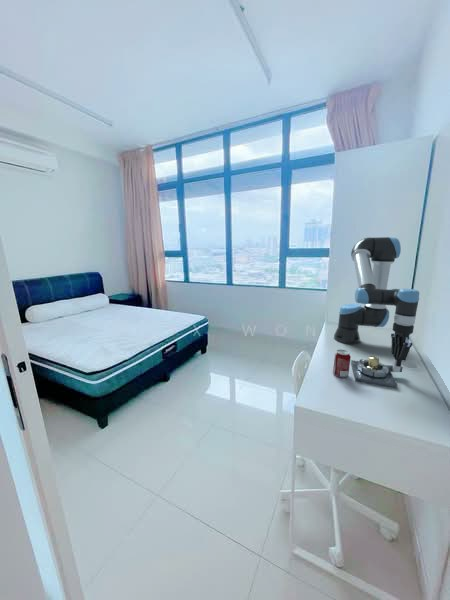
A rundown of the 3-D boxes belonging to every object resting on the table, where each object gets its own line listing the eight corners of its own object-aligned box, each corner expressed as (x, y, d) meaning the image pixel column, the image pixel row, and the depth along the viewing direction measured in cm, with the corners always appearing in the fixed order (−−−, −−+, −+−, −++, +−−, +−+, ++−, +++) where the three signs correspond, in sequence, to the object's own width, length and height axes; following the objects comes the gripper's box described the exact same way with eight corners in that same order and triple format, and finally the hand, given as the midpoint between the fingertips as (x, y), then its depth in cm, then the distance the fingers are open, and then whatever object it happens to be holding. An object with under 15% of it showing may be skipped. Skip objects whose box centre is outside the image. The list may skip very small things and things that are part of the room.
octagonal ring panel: (365, 376, 112) (366, 369, 111) (353, 363, 124) (354, 357, 123) (408, 378, 111) (410, 370, 110) (393, 365, 122) (394, 358, 122)
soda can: (349, 379, 114) (352, 355, 112) (334, 377, 116) (337, 354, 113) (346, 372, 121) (348, 349, 118) (331, 370, 122) (333, 348, 119)
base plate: (350, 363, 129) (352, 347, 127) (386, 369, 124) (388, 352, 121) (355, 381, 113) (357, 363, 111) (396, 388, 107) (399, 370, 105)
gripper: (387, 319, 117) (380, 364, 122) (402, 327, 104) (394, 378, 109) (404, 319, 116) (397, 365, 121) (422, 328, 103) (412, 379, 108)
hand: (395, 371), depth 115 cm, fingers closed
